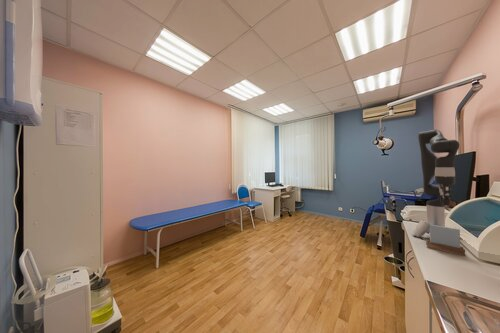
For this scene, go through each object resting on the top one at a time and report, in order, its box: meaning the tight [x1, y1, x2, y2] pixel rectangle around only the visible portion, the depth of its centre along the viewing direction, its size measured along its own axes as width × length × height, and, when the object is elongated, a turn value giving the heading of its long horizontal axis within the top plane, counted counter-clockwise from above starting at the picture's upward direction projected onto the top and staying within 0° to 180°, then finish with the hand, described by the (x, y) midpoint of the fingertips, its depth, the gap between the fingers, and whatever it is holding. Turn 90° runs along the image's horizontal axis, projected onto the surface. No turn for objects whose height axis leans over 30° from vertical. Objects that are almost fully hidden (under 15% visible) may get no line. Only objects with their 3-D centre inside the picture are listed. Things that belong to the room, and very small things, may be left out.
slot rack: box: [425, 239, 466, 257], centre depth 95 cm, size 5×14×3 cm, turn 47°
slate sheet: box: [429, 225, 461, 248], centre depth 95 cm, size 2×11×13 cm, turn 47°
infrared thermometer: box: [412, 219, 431, 238], centre depth 112 cm, size 5×12×15 cm
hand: (444, 203), depth 95 cm, fingers open, 8 cm apart
